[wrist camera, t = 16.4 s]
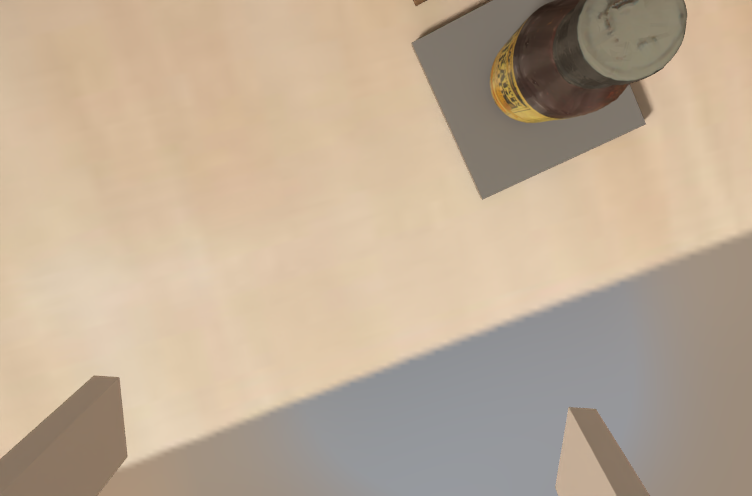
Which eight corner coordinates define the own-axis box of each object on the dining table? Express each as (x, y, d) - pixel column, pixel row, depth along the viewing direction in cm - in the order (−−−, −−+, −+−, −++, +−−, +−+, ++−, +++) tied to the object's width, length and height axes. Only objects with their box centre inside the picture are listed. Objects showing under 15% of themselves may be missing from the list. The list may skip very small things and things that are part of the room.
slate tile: (411, 46, 40) (411, 42, 39) (572, -39, 38) (577, -45, 37) (480, 198, 42) (482, 199, 40) (639, 125, 40) (645, 124, 38)
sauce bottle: (495, 32, 38) (567, -97, 19) (580, 43, 38) (746, -77, 18) (479, 122, 40) (531, 89, 20) (562, 134, 39) (698, 112, 20)
